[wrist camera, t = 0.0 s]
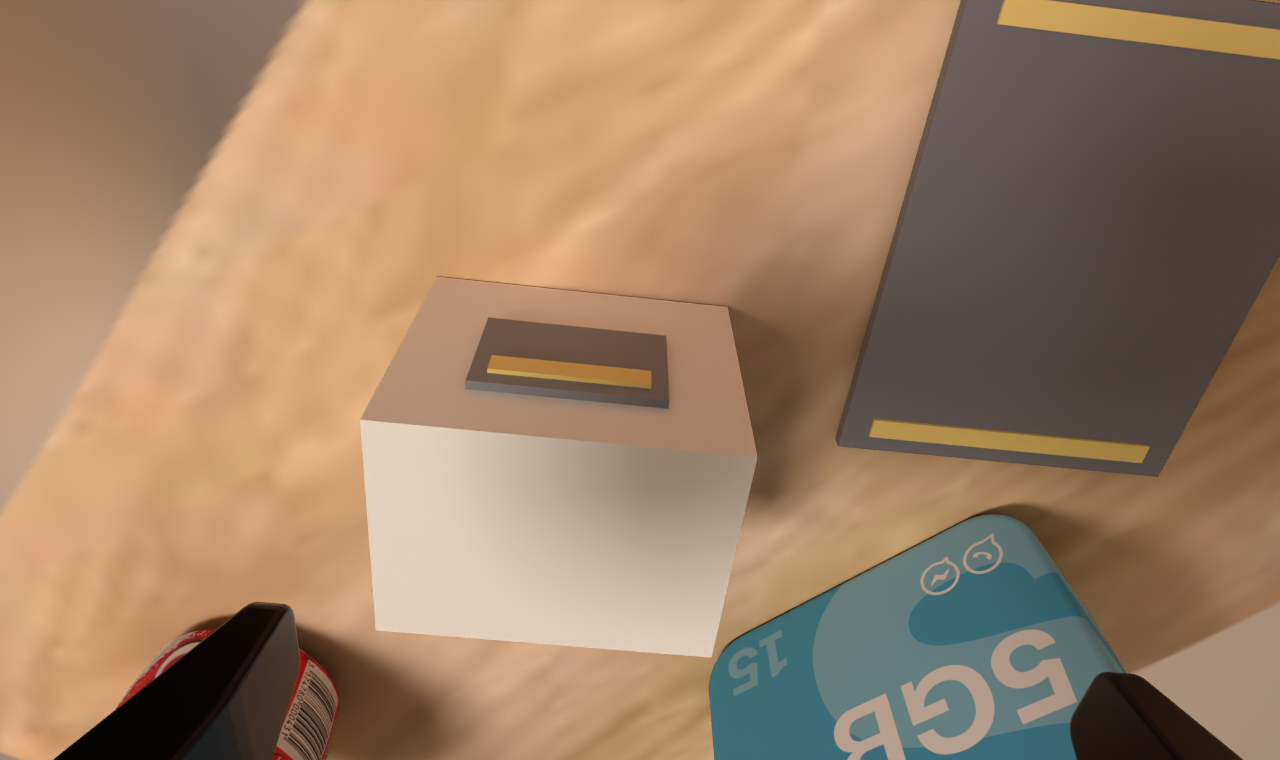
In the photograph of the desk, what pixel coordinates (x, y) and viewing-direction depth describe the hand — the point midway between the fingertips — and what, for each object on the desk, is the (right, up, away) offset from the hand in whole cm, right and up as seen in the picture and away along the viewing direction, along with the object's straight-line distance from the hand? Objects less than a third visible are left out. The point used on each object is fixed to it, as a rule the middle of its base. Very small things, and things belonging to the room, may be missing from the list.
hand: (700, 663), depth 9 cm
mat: (+11, +6, +13) cm, 18 cm away
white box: (-3, +3, +15) cm, 15 cm away
